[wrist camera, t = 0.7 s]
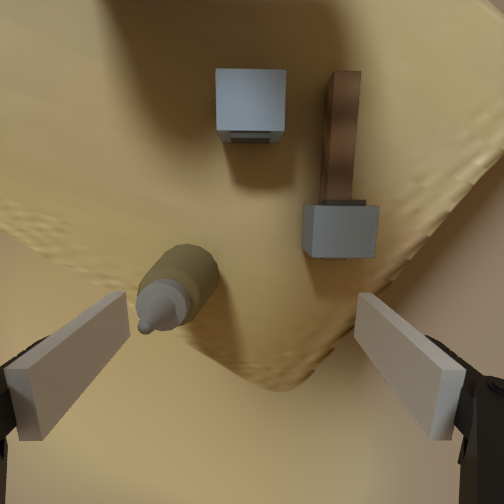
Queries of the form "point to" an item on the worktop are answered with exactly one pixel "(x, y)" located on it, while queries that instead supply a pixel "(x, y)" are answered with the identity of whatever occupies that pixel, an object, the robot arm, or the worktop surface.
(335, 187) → the rail
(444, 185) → the worktop surface
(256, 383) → the worktop surface
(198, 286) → the squeeze bottle
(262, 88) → the grey cube block
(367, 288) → the worktop surface
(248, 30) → the worktop surface
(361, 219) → the slider block
